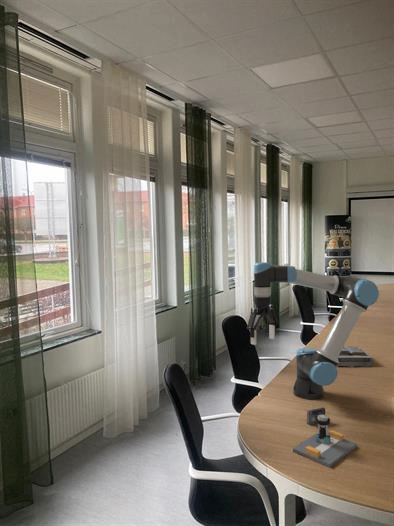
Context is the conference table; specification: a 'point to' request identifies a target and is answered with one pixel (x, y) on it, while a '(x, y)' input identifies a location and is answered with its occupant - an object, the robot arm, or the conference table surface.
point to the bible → (354, 357)
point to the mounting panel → (325, 449)
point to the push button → (323, 429)
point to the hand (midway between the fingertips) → (263, 341)
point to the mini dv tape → (314, 415)
